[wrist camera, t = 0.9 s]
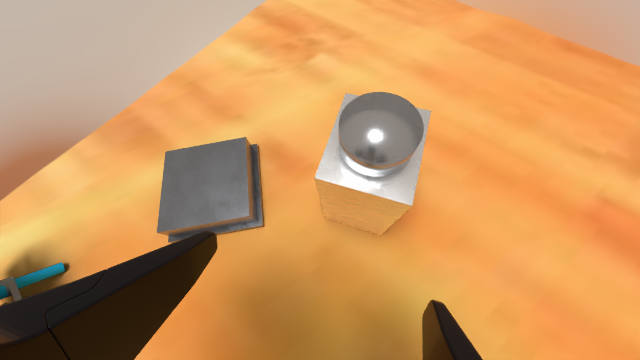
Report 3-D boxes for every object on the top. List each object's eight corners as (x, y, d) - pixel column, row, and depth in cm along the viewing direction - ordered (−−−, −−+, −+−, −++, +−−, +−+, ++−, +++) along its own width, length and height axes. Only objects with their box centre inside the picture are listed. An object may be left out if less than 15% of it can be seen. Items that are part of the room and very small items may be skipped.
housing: (380, 235, 24) (423, 194, 12) (324, 217, 25) (311, 163, 13) (394, 175, 26) (443, 89, 14) (342, 161, 27) (346, 70, 15)
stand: (264, 226, 25) (254, 220, 22) (172, 242, 25) (151, 238, 22) (258, 146, 29) (249, 132, 26) (178, 160, 29) (161, 148, 26)
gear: (-40, 277, 23) (-76, 226, 18) (48, 249, 28) (40, 203, 23) (-2, 379, 21) (-31, 357, 16) (86, 330, 26) (88, 300, 20)
